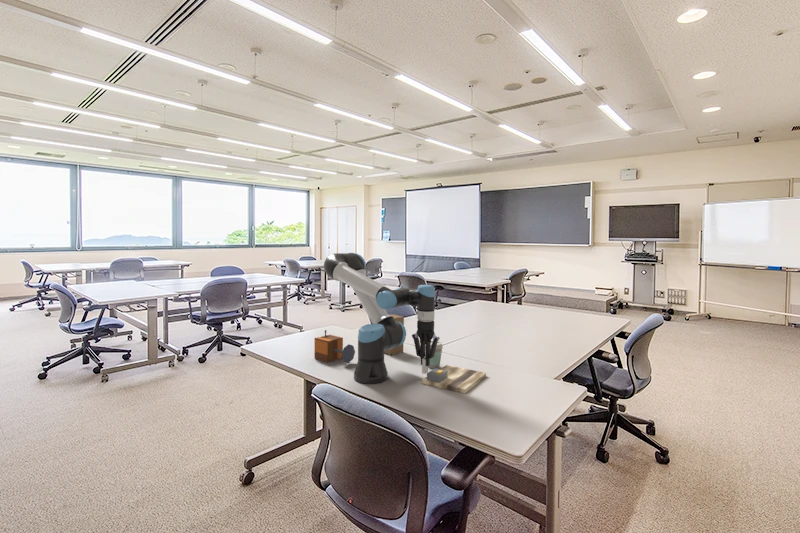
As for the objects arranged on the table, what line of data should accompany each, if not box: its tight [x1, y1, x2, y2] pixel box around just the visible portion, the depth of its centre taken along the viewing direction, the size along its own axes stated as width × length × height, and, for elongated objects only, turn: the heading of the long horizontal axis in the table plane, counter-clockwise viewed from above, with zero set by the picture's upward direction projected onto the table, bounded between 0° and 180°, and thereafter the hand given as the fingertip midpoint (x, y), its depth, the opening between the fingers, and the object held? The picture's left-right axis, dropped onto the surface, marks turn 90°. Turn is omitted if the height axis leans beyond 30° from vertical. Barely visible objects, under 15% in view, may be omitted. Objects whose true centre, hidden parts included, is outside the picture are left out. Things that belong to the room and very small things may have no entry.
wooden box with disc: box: [313, 329, 356, 364], centre depth 199 cm, size 11×20×14 cm, turn 51°
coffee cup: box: [428, 340, 444, 370], centre depth 190 cm, size 8×9×12 cm
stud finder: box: [426, 368, 448, 383], centre depth 169 cm, size 6×8×3 cm
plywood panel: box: [421, 364, 487, 394], centre depth 173 cm, size 20×25×2 cm
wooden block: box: [384, 313, 405, 356], centre depth 215 cm, size 10×10×20 cm
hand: (425, 372), depth 172 cm, fingers closed
